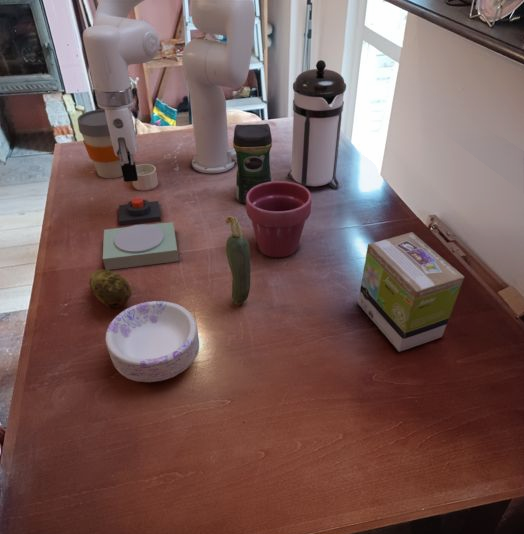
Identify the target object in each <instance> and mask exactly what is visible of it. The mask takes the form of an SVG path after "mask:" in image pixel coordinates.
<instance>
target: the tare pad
mask: <svg viewBox="0 0 524 534" xmlns="http://www.w3.org/2000/svg"><path fill="white" fill-rule="evenodd" d="M131 201H132V200H130V201H129V202H127V203H126V204H125V203H124V204H119V205H118V223H119V226H120V227H121V226H133V225H140V224H149V223H158V222H162V218H161V210H160V209H161V207H160V202H159V201H158V200H154V201H149V200H147V199H143V203H144V206H143V207H141V208H133V207H132V202H131Z"/></svg>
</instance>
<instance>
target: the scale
mask: <svg viewBox="0 0 524 534" xmlns="http://www.w3.org/2000/svg"><path fill="white" fill-rule="evenodd" d="M177 245H178V243H177V239H176V230H175V224H174V222H173V221H171V222H161V223H160V222H159V223H151V224H148V223H141V224H133V225H129V226H127V227H117V228H107V229H103V243H102V262H103V265H104V268H105V269H106V270H110V271H112V270H119V269H126V268H134V267H135V268H136V267H143V266H151V265H152V266H153V265H159V264H169V263H176V262H179V261H180V260H179V259H180V258H179V252H178V246H177Z"/></svg>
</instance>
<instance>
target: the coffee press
mask: <svg viewBox="0 0 524 534" xmlns="http://www.w3.org/2000/svg"><path fill="white" fill-rule="evenodd" d="M326 67H327V65H326V61H324V60H323V59H320V60H318V61H317V62H316V64H315V68H313V69H307V70H305V71H302V72H300V74H298V75H297V76H296V78H295V80H294V82H293V83H292V90H293V100H292V112H293V115H292V118H293V119H292V141H291V142H292V143H291V169H290V171H289V172H288V174H287V178H288V179H290V180H291V179H293V180H294V181H295V182H296V183H297V184H299V185H302V186H304V187H305V188H307V189H308V187H319V186H325V185H327V184H328V185H330V187H331V188H332V189H334V190H336V189H337V188H338V187H339V184H340V183H339V181H338V180H337V177H336V176H337V165H338V156H339V146H340V137H341V129H342V127H341V126H342V117H343V116H342V115H343V111H344V103H345V101H344V95H345V92H346V90H347V84H346V82H345V79H344V77H343V76H342V75H341V74H340V73H338V72H337V71H334V70H331V69H326ZM332 181H334V183H333V182H332Z"/></svg>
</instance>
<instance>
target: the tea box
mask: <svg viewBox="0 0 524 534" xmlns="http://www.w3.org/2000/svg"><path fill="white" fill-rule="evenodd" d="M362 270H363V271H362V277H361V283H360V288H359V294H358V301H357V304H358V306H360V308H361V309H362V310H363V311H364V313H365V314H366V315H367V316H368V317H369V319H370V320H371V321H372V322H373V323H374V324H375V325H376V326H377V327H378V329H379V330H380V332H381V333H382V334H383V335H384V336H385V337H386V338H387V340H388V341H389V342H390V343H391V345H393V347H394V348H395V349H396V350H397V351H398V352H399V353H400V352H403V351H406V350H409V349H412V348H416V347H417V346H420V345H424V344H426V343H429V342H433V341H435V340H438V339H440V338H443V335H444V332H445V331H446V327H447V325H448V323H449V320H450V317H451V315H452V312H453V308H454V306H455V304H456V301H457V298H458V296H459V293H460V290H461V287H462V285H463V282H464V279H465V276H464V275H463V274H462V273H461V272H459V271H458V270H457V269H456V268H455V267H453V266H452V265H451V264H450V263H449V262H448V261H447V260H446V259H444V257H442V256H440V255H439V254H438V253H437V252H436V251H435V250H434V249H432V247H430V246H429V245H428V244H427V243H425V241H423V240H422V239H421V238H419V237H418V235H416V234H415V233H414V232H413V231H411V232H407V233H403V234H401V235H400V234H399V235H397V236H393V237H390V238H386V239H382V240H379V241H376V242H371V243H368V244H367V248H366V253H365V261H364V265H363V269H362Z"/></svg>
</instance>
